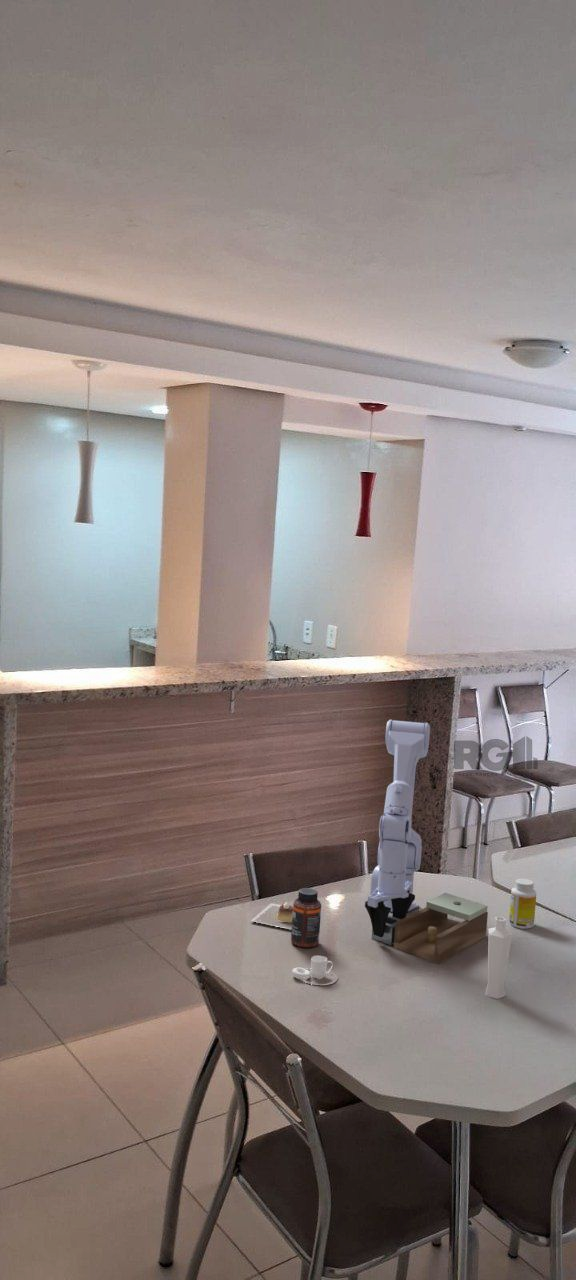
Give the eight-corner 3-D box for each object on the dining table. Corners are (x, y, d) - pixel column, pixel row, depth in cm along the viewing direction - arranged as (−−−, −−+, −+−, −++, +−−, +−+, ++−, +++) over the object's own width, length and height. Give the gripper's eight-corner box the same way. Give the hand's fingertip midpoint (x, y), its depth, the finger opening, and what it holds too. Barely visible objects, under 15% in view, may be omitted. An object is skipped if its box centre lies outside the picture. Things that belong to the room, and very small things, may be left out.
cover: (426, 907, 219) (426, 900, 219) (444, 898, 225) (445, 891, 225) (469, 921, 213) (469, 914, 212) (487, 911, 219) (487, 904, 219)
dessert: (270, 907, 231) (271, 887, 230) (319, 917, 226) (321, 897, 226) (250, 925, 219) (251, 904, 219) (301, 936, 215) (302, 915, 215)
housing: (393, 947, 211) (395, 922, 210) (442, 921, 226) (444, 898, 226) (438, 963, 204) (440, 937, 203) (486, 936, 219) (487, 912, 219)
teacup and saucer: (287, 982, 193) (288, 962, 192) (301, 966, 200) (302, 946, 200) (331, 991, 190) (332, 971, 189) (343, 975, 197) (344, 955, 197)
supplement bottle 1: (324, 942, 211) (328, 891, 210) (308, 951, 206) (312, 898, 205) (300, 934, 215) (304, 883, 213) (284, 943, 210) (288, 890, 208)
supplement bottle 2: (538, 926, 227) (542, 883, 225) (523, 931, 223) (527, 887, 222) (518, 918, 231) (522, 875, 230) (503, 923, 227) (507, 879, 226)
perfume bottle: (490, 986, 195) (496, 912, 193) (510, 994, 192) (516, 919, 190) (477, 992, 192) (483, 917, 190) (496, 1001, 188) (502, 925, 187)
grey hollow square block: (371, 938, 215) (372, 920, 214) (384, 931, 219) (385, 914, 218) (391, 945, 212) (392, 927, 211) (403, 938, 216) (405, 920, 215)
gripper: (389, 882, 205) (384, 945, 207) (426, 866, 217) (422, 927, 218) (361, 873, 210) (357, 935, 211) (398, 858, 221) (394, 917, 222)
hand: (388, 930), depth 215 cm, fingers open, 7 cm apart
